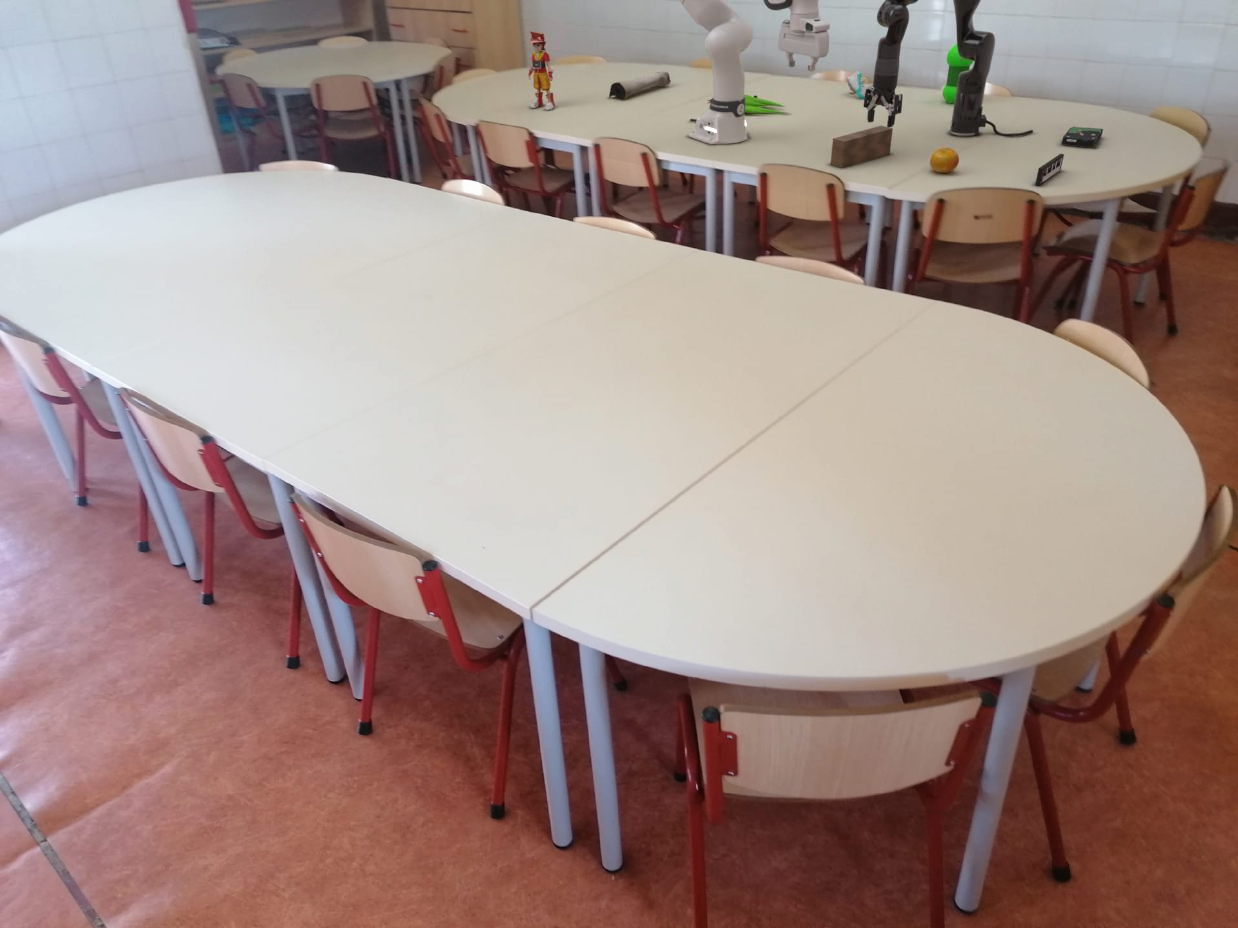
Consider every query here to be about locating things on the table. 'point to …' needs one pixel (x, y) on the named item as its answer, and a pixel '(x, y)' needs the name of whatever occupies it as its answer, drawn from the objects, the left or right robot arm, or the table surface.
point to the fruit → (944, 160)
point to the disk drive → (1082, 136)
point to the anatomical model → (858, 84)
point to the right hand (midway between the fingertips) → (880, 124)
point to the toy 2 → (754, 105)
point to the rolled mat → (638, 84)
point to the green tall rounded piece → (954, 73)
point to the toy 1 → (541, 71)
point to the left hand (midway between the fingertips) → (801, 69)
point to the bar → (861, 146)
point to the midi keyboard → (1049, 169)
